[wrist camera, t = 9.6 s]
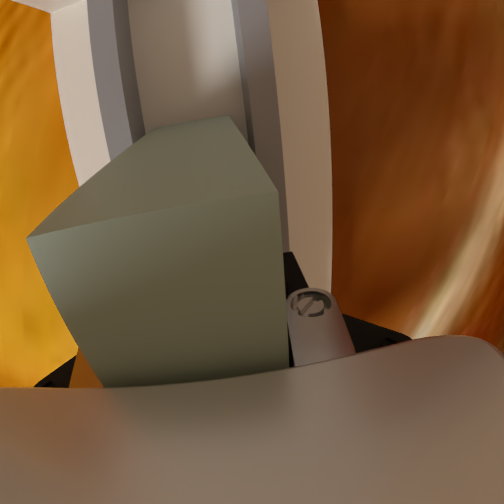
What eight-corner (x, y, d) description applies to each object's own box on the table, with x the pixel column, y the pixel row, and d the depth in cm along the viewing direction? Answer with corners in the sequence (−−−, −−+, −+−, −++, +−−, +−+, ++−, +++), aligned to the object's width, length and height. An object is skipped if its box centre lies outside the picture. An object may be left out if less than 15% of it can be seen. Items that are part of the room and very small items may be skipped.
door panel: (155, 127, 12) (25, 238, 3) (228, 115, 12) (277, 191, 3) (199, 320, 17) (203, 505, 8) (255, 312, 17) (292, 494, 8)
